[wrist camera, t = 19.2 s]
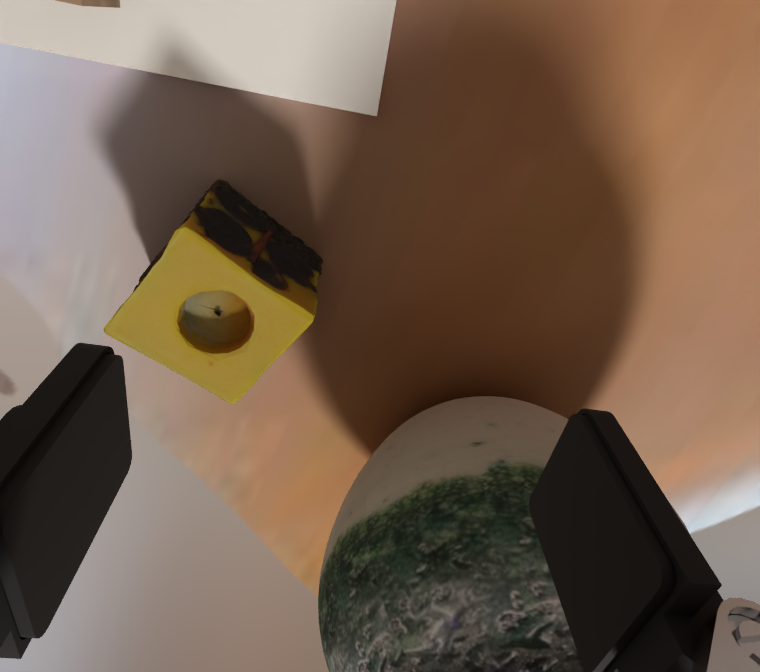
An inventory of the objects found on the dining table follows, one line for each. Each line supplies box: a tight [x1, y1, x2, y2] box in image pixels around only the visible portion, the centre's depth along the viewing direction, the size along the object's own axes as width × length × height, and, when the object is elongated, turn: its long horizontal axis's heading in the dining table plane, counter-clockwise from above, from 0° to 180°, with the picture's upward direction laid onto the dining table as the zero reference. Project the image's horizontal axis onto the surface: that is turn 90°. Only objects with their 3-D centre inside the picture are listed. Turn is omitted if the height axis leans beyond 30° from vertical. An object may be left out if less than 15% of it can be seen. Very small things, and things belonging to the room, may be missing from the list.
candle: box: [104, 180, 323, 405], centre depth 37 cm, size 10×10×10 cm
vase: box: [318, 396, 690, 672], centre depth 40 cm, size 28×28×30 cm
